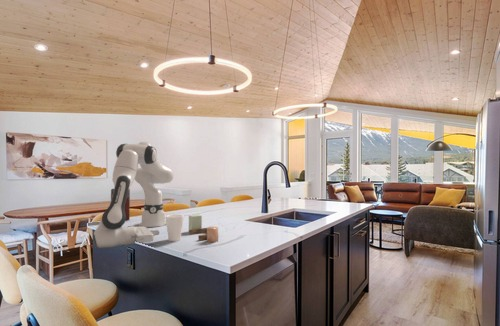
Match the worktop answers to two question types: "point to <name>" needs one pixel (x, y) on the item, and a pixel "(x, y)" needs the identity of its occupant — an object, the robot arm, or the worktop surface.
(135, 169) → the robot arm
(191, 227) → the sage tin
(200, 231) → the bay
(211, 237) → the orange-brown cylindrical block
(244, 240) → the worktop surface
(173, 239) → the foam cup
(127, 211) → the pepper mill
